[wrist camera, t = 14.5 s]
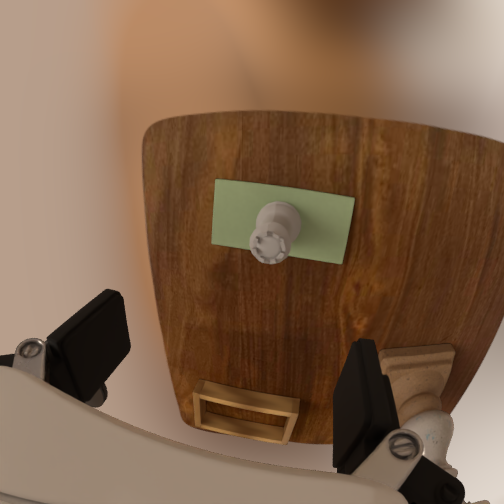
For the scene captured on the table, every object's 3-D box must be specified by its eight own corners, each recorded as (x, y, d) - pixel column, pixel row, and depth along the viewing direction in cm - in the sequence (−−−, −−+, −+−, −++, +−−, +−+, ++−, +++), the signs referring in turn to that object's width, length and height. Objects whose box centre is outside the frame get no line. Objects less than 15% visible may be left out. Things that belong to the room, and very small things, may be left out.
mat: (212, 242, 32) (211, 243, 31) (216, 178, 29) (215, 179, 29) (341, 262, 30) (342, 264, 29) (354, 197, 27) (355, 198, 27)
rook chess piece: (255, 201, 29) (235, 221, 21) (300, 198, 28) (296, 217, 20) (259, 244, 30) (242, 276, 23) (303, 242, 29) (300, 275, 22)
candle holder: (431, 397, 34) (461, 529, 12) (365, 404, 36) (372, 552, 14) (452, 342, 30) (515, 491, 8) (379, 349, 32) (408, 529, 10)
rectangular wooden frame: (200, 413, 43) (195, 425, 40) (199, 378, 40) (192, 392, 37) (288, 431, 41) (286, 445, 38) (300, 398, 37) (298, 414, 35)
